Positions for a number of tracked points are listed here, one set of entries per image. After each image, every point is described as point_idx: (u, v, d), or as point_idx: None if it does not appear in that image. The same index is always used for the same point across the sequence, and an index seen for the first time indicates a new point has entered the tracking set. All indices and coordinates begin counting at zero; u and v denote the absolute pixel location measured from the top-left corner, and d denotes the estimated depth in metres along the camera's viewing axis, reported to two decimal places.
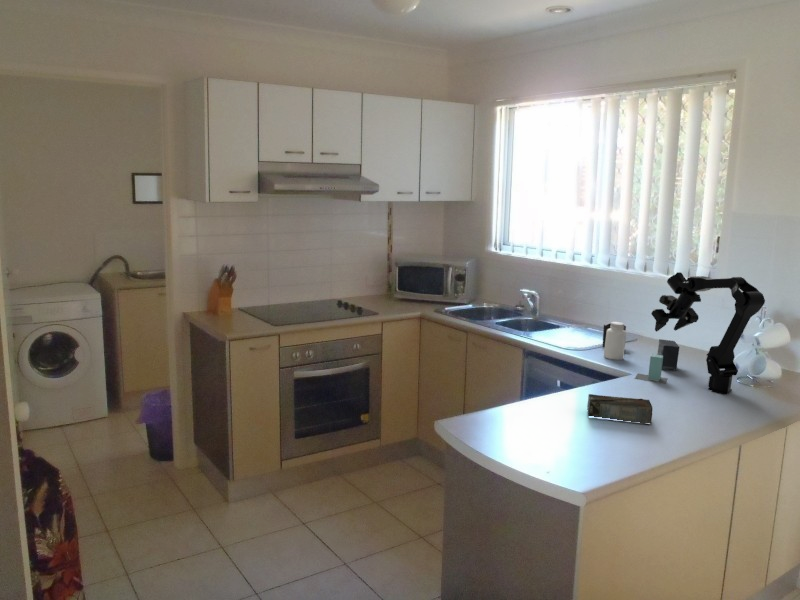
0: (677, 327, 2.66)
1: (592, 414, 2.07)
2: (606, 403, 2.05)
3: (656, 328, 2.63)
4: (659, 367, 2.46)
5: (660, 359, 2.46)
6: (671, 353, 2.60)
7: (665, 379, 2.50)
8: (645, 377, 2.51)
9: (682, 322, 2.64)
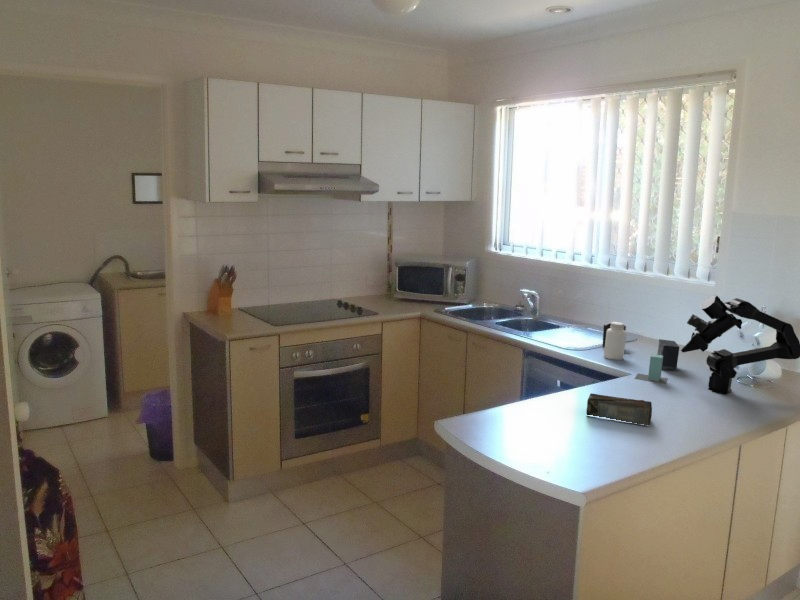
0: None
1: (590, 413, 2.08)
2: (604, 403, 2.06)
3: (685, 349, 2.42)
4: (659, 367, 2.46)
5: (660, 359, 2.46)
6: (671, 353, 2.60)
7: (665, 379, 2.50)
8: (645, 377, 2.51)
9: None
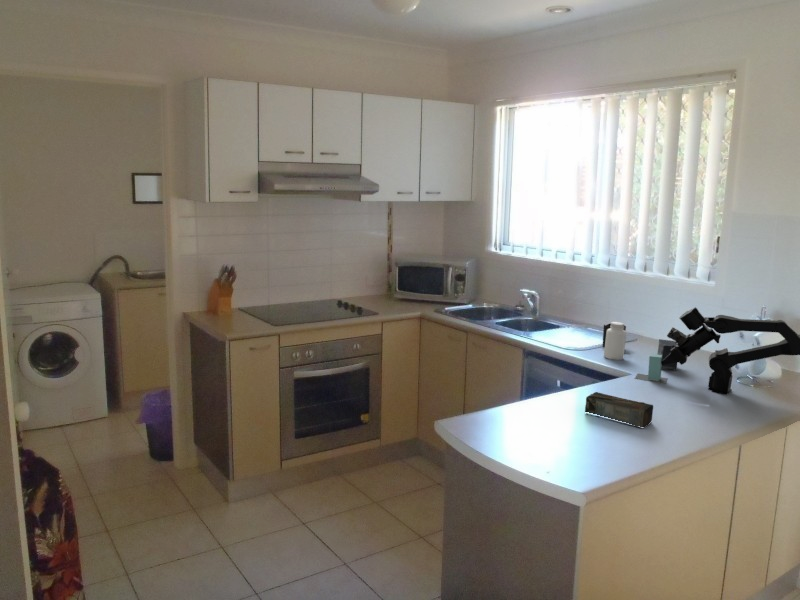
0: None
1: (588, 410, 2.10)
2: (601, 401, 2.07)
3: (665, 362, 2.46)
4: (658, 367, 2.46)
5: (659, 358, 2.46)
6: None
7: (665, 379, 2.50)
8: (645, 377, 2.51)
9: None
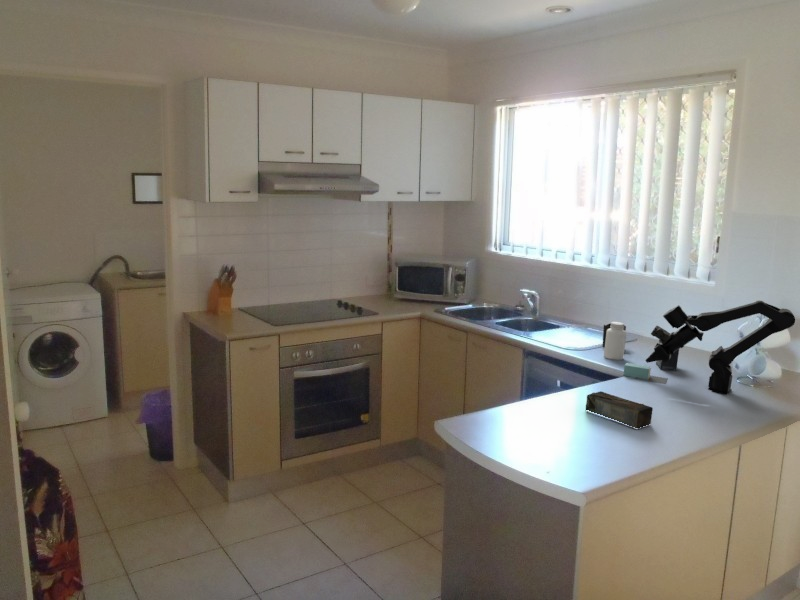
0: None
1: (588, 408, 2.12)
2: (600, 400, 2.09)
3: (649, 360, 2.49)
4: (634, 368, 2.51)
5: (626, 366, 2.52)
6: None
7: (665, 379, 2.50)
8: None
9: None
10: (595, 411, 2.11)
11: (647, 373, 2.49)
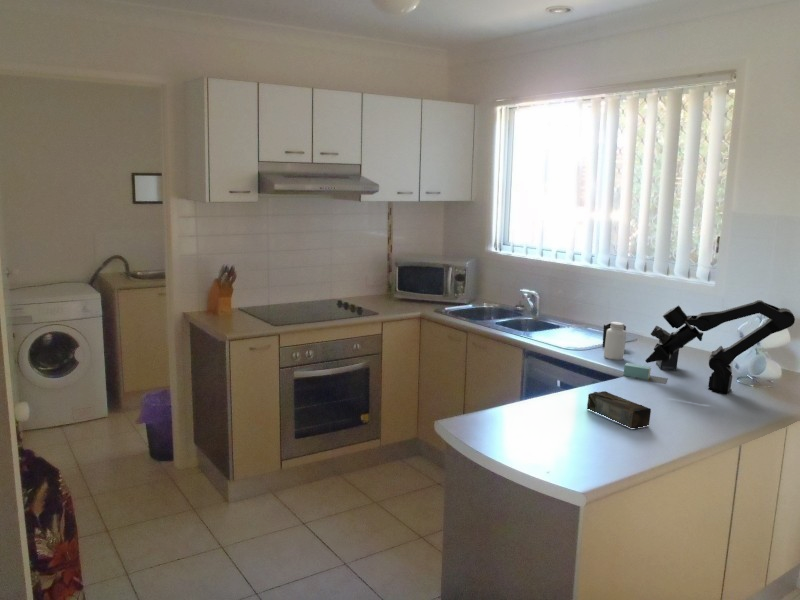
0: None
1: (589, 407, 2.13)
2: (599, 399, 2.10)
3: (649, 360, 2.49)
4: (634, 368, 2.51)
5: (626, 366, 2.52)
6: None
7: (665, 379, 2.50)
8: None
9: None
10: (595, 410, 2.12)
11: (647, 373, 2.49)
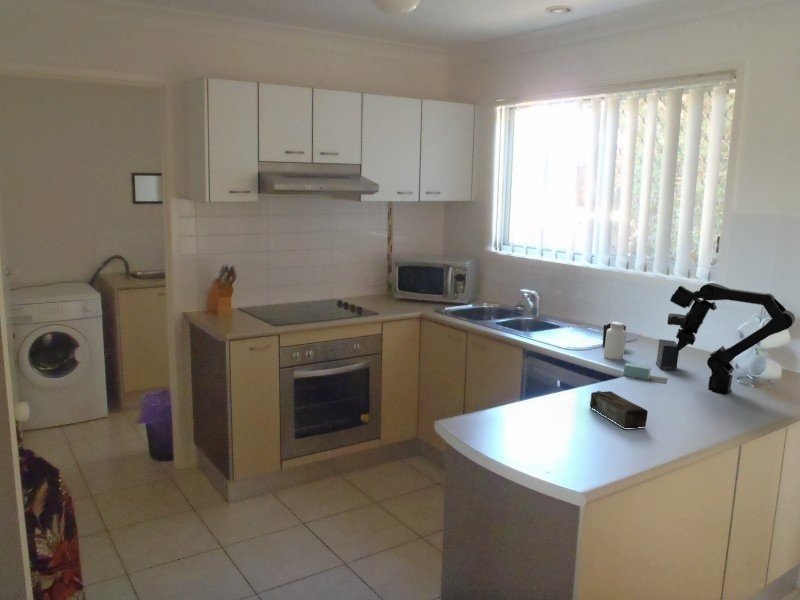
0: None
1: (592, 405, 2.15)
2: (600, 398, 2.11)
3: (679, 347, 2.47)
4: (634, 368, 2.51)
5: (626, 366, 2.52)
6: (671, 353, 2.60)
7: (665, 379, 2.50)
8: None
9: None
10: (596, 409, 2.13)
11: (647, 373, 2.49)
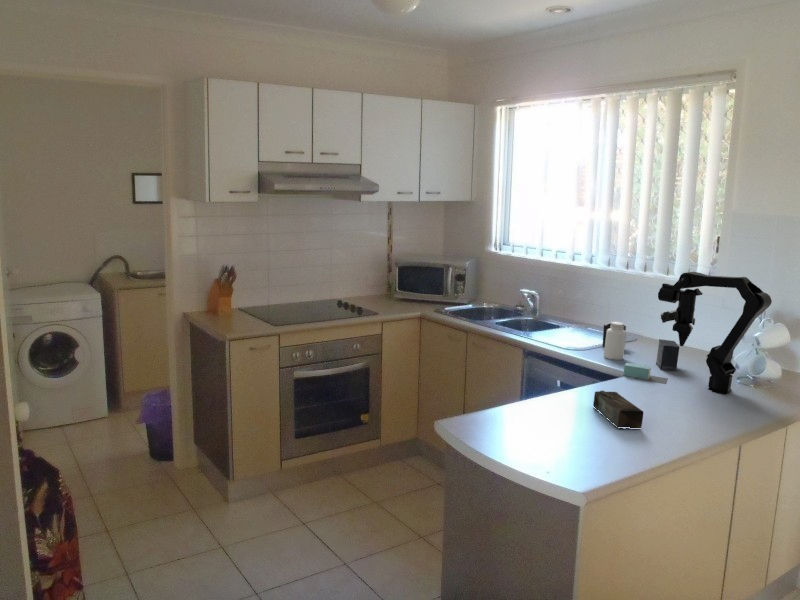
0: None
1: (594, 404, 2.16)
2: (600, 397, 2.11)
3: (682, 342, 2.49)
4: (634, 368, 2.51)
5: (626, 366, 2.52)
6: (671, 353, 2.60)
7: (665, 379, 2.50)
8: None
9: None
10: (598, 408, 2.13)
11: (647, 373, 2.49)
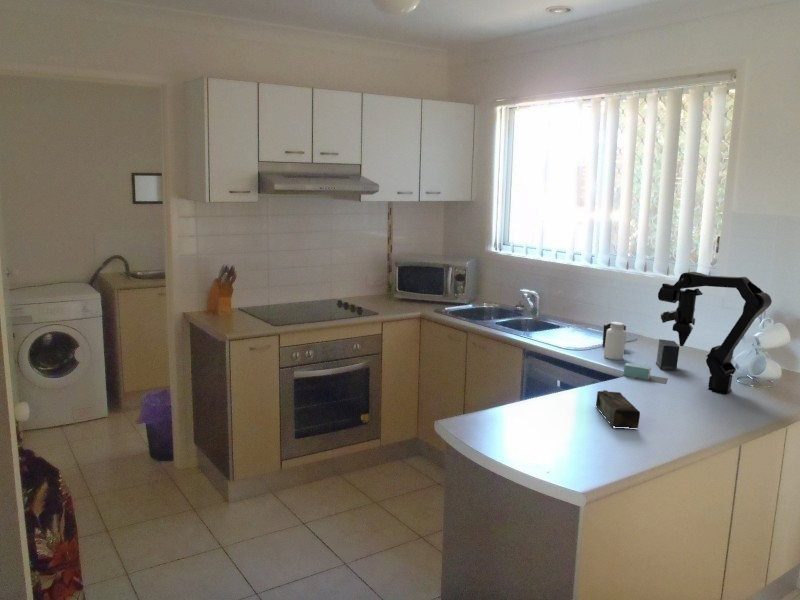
0: None
1: (597, 404, 2.16)
2: (601, 396, 2.12)
3: (682, 342, 2.49)
4: (634, 368, 2.51)
5: (626, 366, 2.52)
6: (671, 353, 2.60)
7: (665, 379, 2.50)
8: None
9: None
10: (599, 407, 2.14)
11: (647, 373, 2.49)
